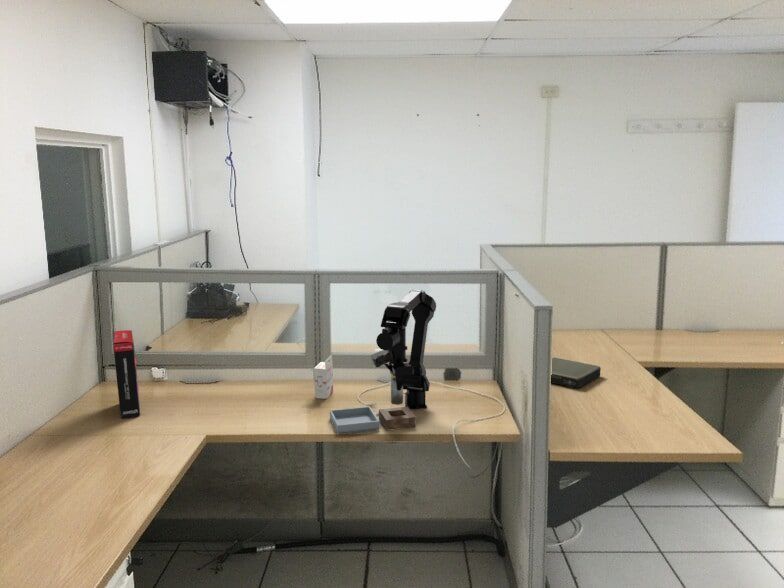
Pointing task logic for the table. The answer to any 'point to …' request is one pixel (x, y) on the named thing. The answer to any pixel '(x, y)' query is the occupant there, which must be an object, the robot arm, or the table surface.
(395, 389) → the steel pin
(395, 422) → the hitch block
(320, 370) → the ink cartridge box
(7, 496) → the table surface
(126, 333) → the graphics card box
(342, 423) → the tray
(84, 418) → the table surface
